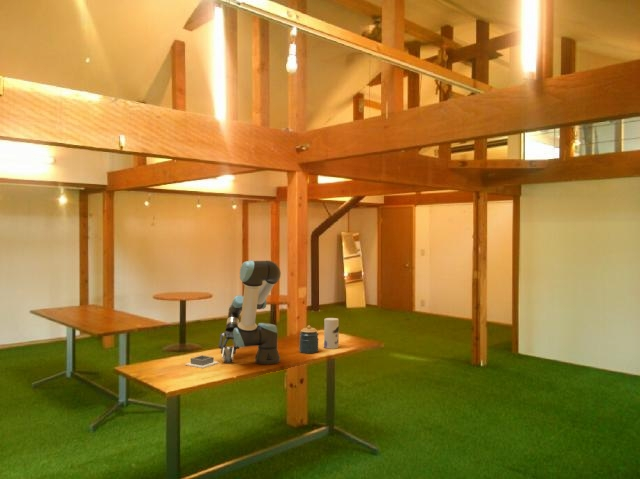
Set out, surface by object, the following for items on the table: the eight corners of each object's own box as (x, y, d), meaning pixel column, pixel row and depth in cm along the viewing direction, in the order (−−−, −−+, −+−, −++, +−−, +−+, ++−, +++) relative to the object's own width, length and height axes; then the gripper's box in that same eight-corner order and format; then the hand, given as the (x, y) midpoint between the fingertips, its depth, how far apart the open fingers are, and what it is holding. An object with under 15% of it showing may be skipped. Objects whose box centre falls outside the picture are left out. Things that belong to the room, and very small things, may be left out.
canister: (315, 348, 329) (315, 323, 329) (321, 353, 316) (321, 326, 316) (296, 350, 324) (297, 324, 324) (302, 354, 312) (302, 327, 312)
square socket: (218, 363, 289) (219, 356, 289) (202, 368, 276) (202, 361, 276) (201, 360, 296) (201, 354, 296) (184, 365, 283) (185, 358, 283)
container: (337, 349, 328) (337, 320, 328) (322, 348, 330) (323, 319, 330) (339, 346, 337) (339, 317, 337) (325, 345, 339) (325, 317, 339)
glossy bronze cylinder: (234, 361, 291) (234, 346, 291) (228, 363, 287) (229, 348, 287) (228, 360, 294) (228, 346, 294) (222, 362, 289) (222, 347, 289)
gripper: (247, 329, 306) (243, 361, 289) (218, 329, 306) (213, 361, 289) (245, 322, 300) (241, 354, 284) (217, 322, 300) (211, 354, 284)
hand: (227, 358), depth 286 cm, fingers closed on glossy bronze cylinder, 5 cm apart
